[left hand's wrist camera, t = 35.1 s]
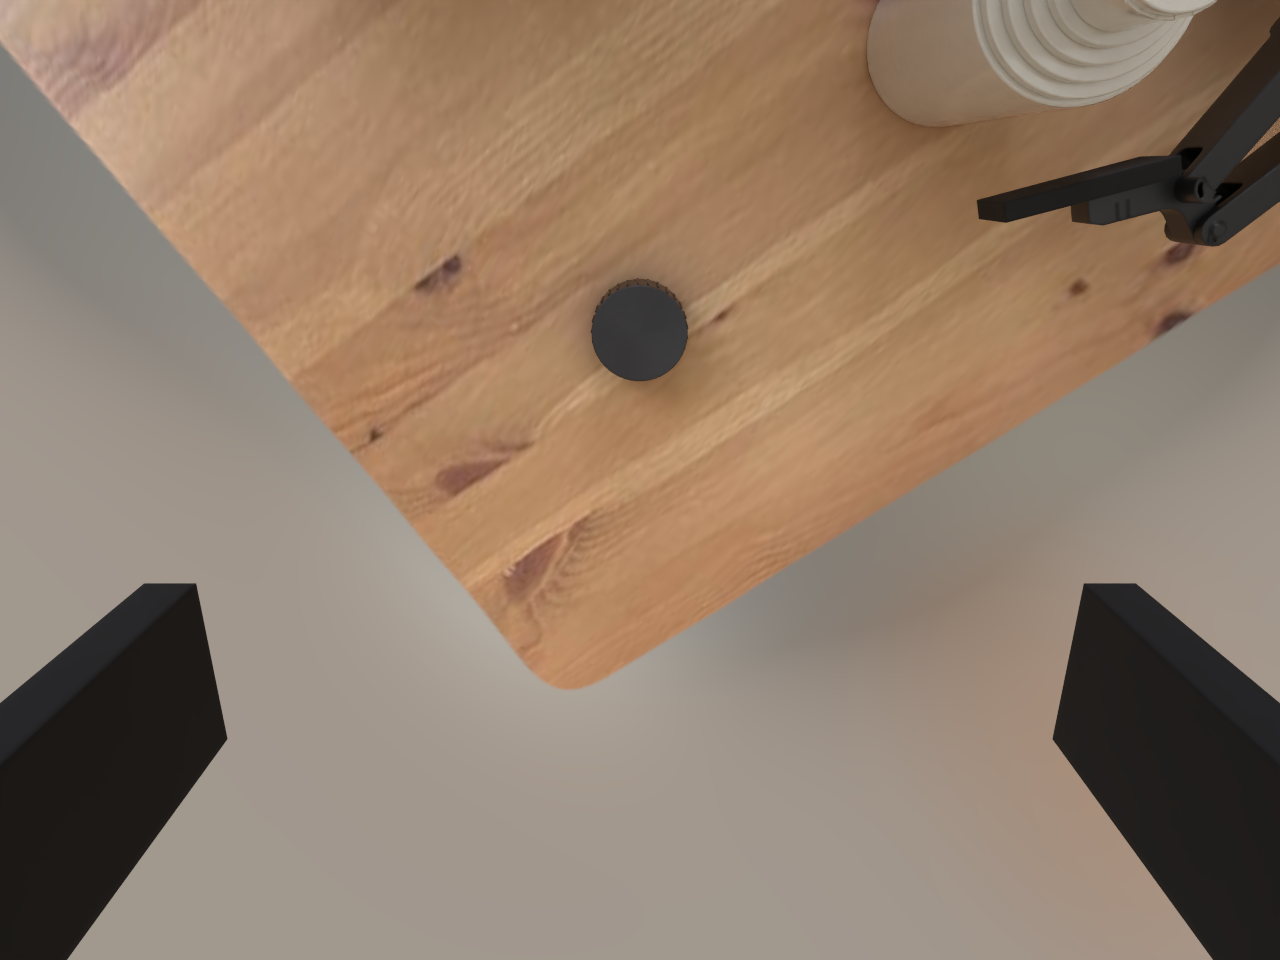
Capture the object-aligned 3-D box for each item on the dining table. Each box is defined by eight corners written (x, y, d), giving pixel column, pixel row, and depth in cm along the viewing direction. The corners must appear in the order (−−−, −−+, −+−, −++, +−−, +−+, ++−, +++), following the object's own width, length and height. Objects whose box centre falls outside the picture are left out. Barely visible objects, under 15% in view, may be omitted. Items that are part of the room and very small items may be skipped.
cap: (601, 270, 40) (598, 276, 38) (694, 286, 40) (697, 293, 38) (586, 362, 42) (583, 373, 40) (676, 378, 42) (678, 389, 40)
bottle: (1037, -45, 36) (1380, -232, 19) (1008, 129, 38) (1291, 97, 22) (876, -51, 36) (1081, -243, 19) (857, 124, 38) (1024, 89, 21)
